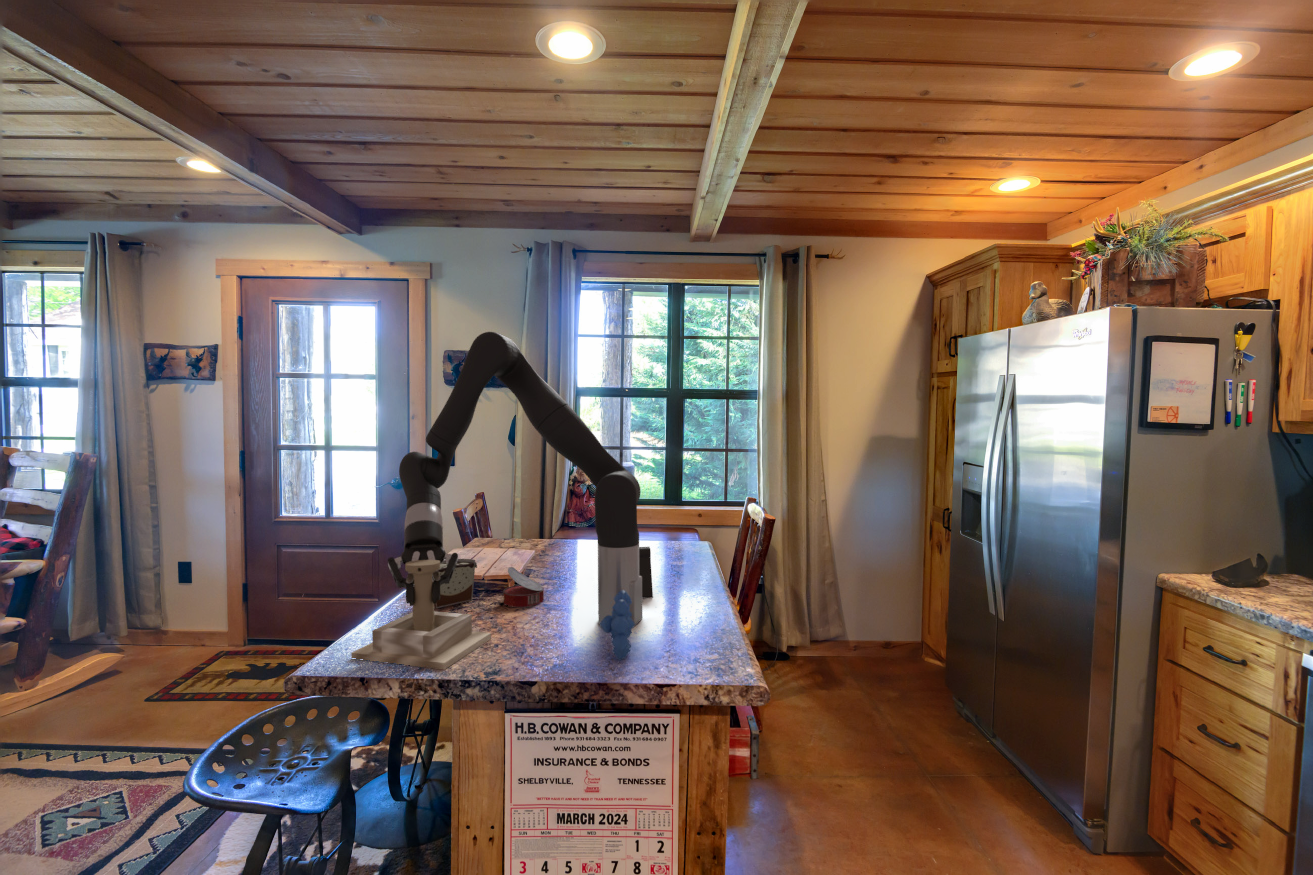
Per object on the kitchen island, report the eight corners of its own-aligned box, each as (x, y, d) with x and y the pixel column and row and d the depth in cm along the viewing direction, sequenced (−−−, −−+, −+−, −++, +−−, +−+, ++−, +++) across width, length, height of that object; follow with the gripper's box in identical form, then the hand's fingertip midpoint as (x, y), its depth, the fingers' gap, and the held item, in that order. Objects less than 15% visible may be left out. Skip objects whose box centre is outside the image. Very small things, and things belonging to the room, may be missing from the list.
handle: (437, 642, 116) (436, 565, 116) (403, 643, 115) (402, 565, 115) (443, 633, 121) (442, 559, 120) (410, 634, 120) (409, 560, 120)
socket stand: (491, 638, 123) (490, 613, 123) (444, 669, 108) (444, 640, 108) (407, 630, 128) (407, 606, 128) (351, 659, 113) (350, 631, 113)
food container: (466, 594, 156) (465, 555, 156) (477, 598, 152) (477, 559, 152) (419, 604, 147) (418, 563, 147) (430, 609, 143) (429, 567, 143)
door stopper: (652, 597, 152) (652, 550, 152) (629, 599, 151) (628, 551, 151) (647, 588, 161) (647, 543, 160) (625, 589, 160) (624, 544, 159)
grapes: (603, 643, 120) (602, 584, 120) (636, 643, 120) (636, 584, 120) (595, 667, 108) (595, 601, 108) (633, 667, 108) (632, 601, 108)
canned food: (520, 613, 155) (530, 575, 159) (548, 616, 149) (558, 576, 153) (487, 602, 147) (499, 562, 151) (515, 604, 141) (526, 563, 145)
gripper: (386, 521, 122) (381, 596, 111) (459, 517, 127) (462, 589, 116) (388, 542, 127) (384, 616, 116) (458, 537, 132) (461, 608, 121)
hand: (423, 602), depth 116 cm, fingers closed on handle, 3 cm apart
